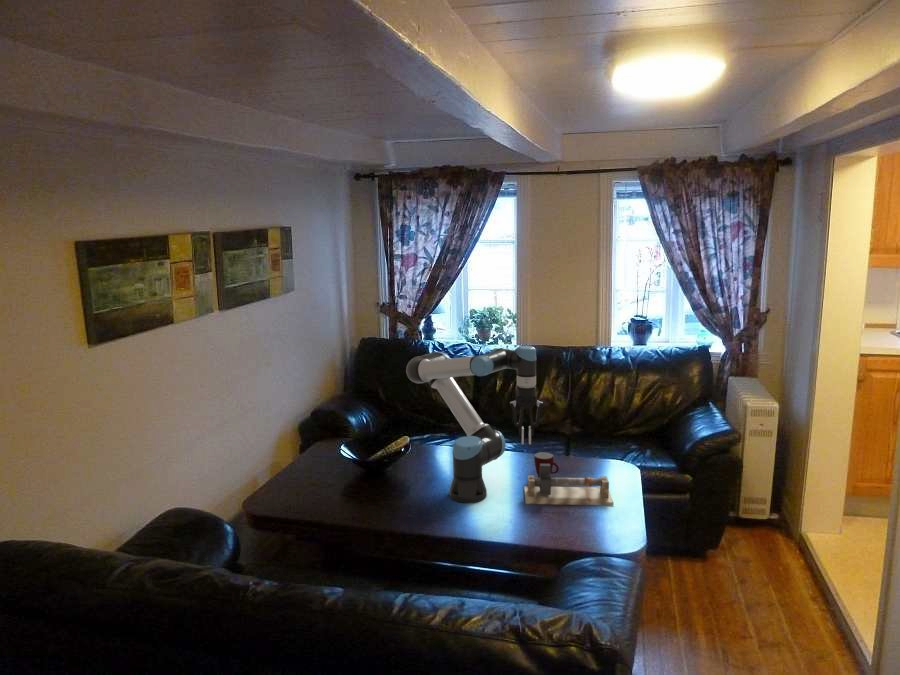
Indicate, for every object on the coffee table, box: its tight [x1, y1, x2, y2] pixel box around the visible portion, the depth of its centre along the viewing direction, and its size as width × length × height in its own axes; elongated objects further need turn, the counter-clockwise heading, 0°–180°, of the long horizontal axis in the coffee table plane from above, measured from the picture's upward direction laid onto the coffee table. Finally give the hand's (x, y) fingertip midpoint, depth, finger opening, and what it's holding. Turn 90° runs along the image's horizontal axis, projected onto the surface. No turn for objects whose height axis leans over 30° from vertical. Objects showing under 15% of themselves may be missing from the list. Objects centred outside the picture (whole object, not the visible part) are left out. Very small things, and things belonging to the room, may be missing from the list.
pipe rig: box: [523, 474, 614, 506], centre depth 254 cm, size 34×14×8 cm, turn 85°
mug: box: [534, 451, 560, 477], centre depth 273 cm, size 11×8×10 cm
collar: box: [538, 464, 552, 495], centre depth 254 cm, size 4×8×11 cm, turn 175°
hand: (526, 443), depth 252 cm, fingers open, 2 cm apart
